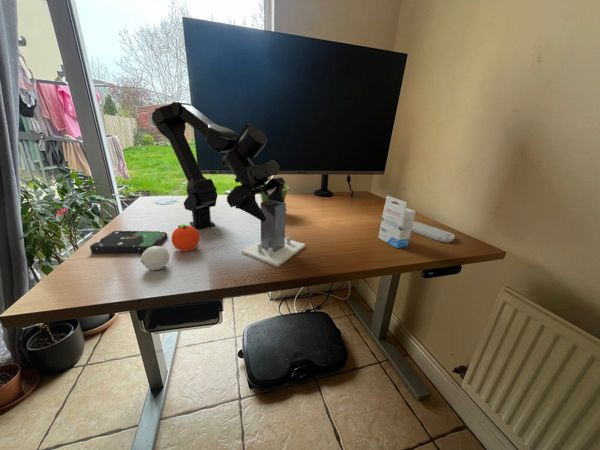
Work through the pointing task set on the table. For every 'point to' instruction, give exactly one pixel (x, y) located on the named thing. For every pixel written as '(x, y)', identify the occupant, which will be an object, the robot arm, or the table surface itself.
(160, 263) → the white egg
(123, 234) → the disk drive
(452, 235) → the game console
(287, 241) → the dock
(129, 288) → the table surface
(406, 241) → the ink box
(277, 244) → the grey metal block
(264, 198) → the plant pot
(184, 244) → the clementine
